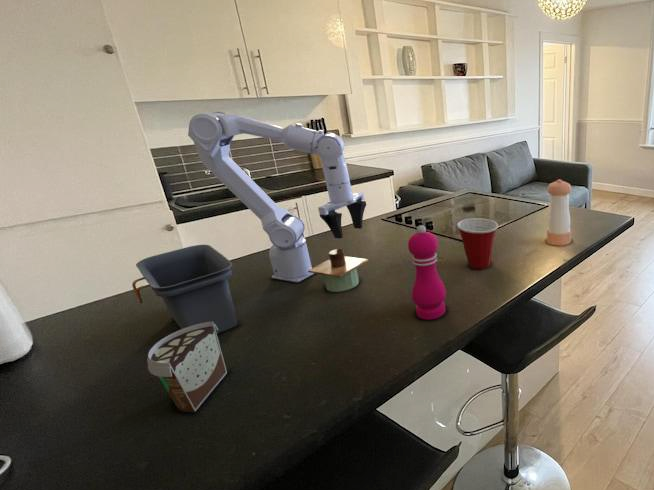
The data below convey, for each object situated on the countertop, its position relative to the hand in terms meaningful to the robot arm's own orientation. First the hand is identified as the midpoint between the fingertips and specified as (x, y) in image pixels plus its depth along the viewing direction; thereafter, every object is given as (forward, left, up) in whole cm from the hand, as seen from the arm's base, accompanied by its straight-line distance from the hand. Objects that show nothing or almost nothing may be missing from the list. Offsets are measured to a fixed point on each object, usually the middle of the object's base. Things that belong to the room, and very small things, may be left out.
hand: (348, 232), depth 109 cm
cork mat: (+4, -9, -5) cm, 11 cm away
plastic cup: (+33, +12, -11) cm, 36 cm away
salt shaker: (+49, +35, -11) cm, 61 cm away
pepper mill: (+33, -14, -11) cm, 37 cm away
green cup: (+4, -9, -10) cm, 14 cm away
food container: (+8, -49, -11) cm, 51 cm away
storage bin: (-13, -34, -11) cm, 38 cm away
